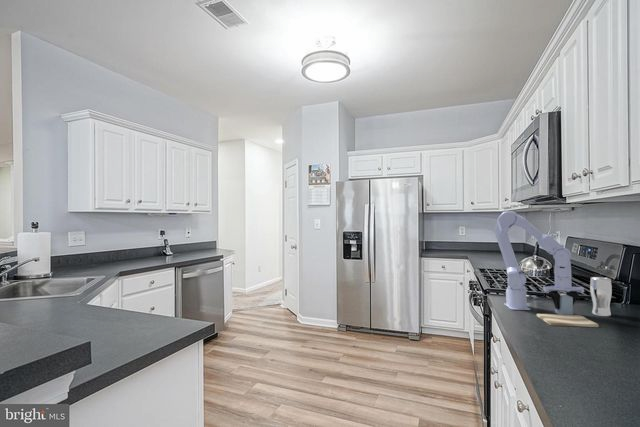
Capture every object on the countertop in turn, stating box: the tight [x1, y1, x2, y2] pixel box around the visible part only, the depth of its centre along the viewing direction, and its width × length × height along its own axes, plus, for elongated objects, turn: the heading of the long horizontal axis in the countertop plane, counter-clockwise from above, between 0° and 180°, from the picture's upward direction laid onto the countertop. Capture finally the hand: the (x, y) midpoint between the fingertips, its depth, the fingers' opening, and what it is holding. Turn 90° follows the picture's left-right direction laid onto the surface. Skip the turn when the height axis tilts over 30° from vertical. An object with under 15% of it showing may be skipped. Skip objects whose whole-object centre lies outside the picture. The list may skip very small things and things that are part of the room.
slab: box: [554, 293, 574, 315], centre depth 140 cm, size 6×4×8 cm, turn 169°
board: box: [536, 313, 600, 328], centre depth 131 cm, size 12×16×1 cm
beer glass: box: [589, 276, 613, 317], centre depth 139 cm, size 7×7×15 cm
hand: (563, 309), depth 140 cm, fingers open, 4 cm apart
